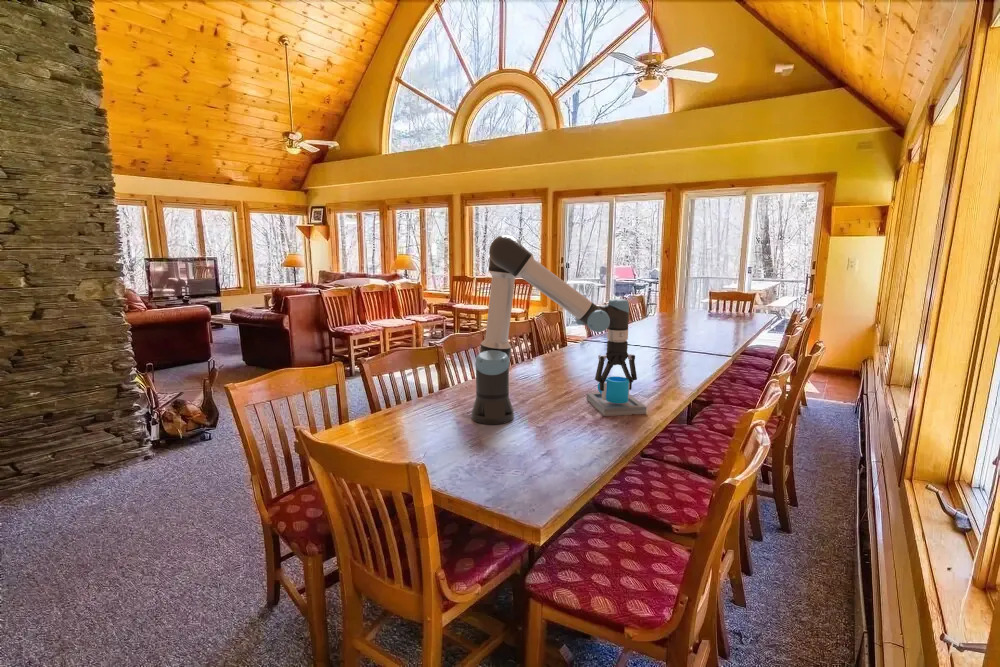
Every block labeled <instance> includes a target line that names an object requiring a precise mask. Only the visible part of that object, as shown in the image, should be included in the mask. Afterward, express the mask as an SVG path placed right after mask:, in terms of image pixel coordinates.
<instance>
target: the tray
mask: <svg viewBox="0 0 1000 667" xmlns="http://www.w3.org/2000/svg"><path fill="white" fill-rule="evenodd" d="M586 400H587V402H589V403H590V405H592V406H593V407H594V408H595V409H596V410H597V411H598V412H599V413H600V414H601V415H602V416H603V417H614V416H632V414H635V415H647V406H646V405H644V404H643V403H642V402H640V401H639V400H638V399H637V398H635V397H633V396H632V395H631V394H630V393H629V399H628V402H626V403H612V402H608V401H607V400H603V399H602V394H601V393H600V392H599V391H598V392H587V393H586Z"/></svg>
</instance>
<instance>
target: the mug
mask: <svg viewBox="0 0 1000 667" xmlns="http://www.w3.org/2000/svg"><path fill="white" fill-rule="evenodd" d="M605 382H606V400H607V401H608V402H612V403H626V402H628V391H629V392H630V390H629V379H627V378H626V376H625V377H624V376H607V378H606V380H605ZM597 390H598V392H600V393H601V394H602V391H600V382H598V384H597Z"/></svg>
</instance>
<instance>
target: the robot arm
mask: <svg viewBox="0 0 1000 667" xmlns="http://www.w3.org/2000/svg"><path fill="white" fill-rule="evenodd" d="M488 252H489V253H488V254H489V260H488V273H489V274H490V275H491V282H490V284H491V285H490V292H489V302H488V309H487V310H488V311H487V320H486V330H485V338H484V339H483V341H481V342H480V346H479V347H480V348H479V353H478V354H477V355H476V357H475V363H474V366H475V375H476V376H475V384H476V386H475V389H476V390H475V393H476V394H475V401H474V403H473V406H472V409H471V420H473V421H474V422H476V423H478V424H483V425H501V424H507V423H509V422H512V421H513V420H514V418H515V414H514V413H515V412H514V409H513V405H512V403H511V399H510V396H509V395H510V381H509V380H510V364H511V352H512V345H511V343H509V334H510V326H511V319H512V318H511V317H512V308H513V301H514V300H513V299H514V292H515V291H514V290H515V281H516V278H521V279H522V280H524V281H526V282H527V283H528V284H529V285H531V286H532V287H533V288H535V289H536V290H538V291H539V292H540V293H542V294H543V295H545V296H546V297H547V298H549V299H550V300H551V301H552V302H554V303H556V304H557V305H558V306H559V307H561V308H562V309H564V310H565V311H567V313H569V314H571V315H572V316H573V317H575V323H576V324H577V325H580V326H587V327H588V328H589V330H591V331H592V332H596V333H601V332H604V331H606V330H607V336H606V338H607V341H606V353H605V354H603V355H602V354H599V355H598V364H597V367H596V372H595V377H594V380H595V381H597V383H599V382H600V391H602V399H603V400H606V387H607V382H606V381H605V380H606V379H607V378H608V377H609V374H610V372H611V370H612V368H613V367H614V366H620V367H621V369H622V371H623V374H624V376H625V378H627V379H629V391H628V399H629V394H630V391H631V390H632V389H633V387H632V386H633V385H632V384H633V383H634V381H637V379H638V376H637V369H636V363H635V361H636V360H635V359H636V355H635V354H632V353H630V354H629V353H628V347H629V346H628V344H629V342H628V340H629V319H630V318H629V317H630V301H629V300H627V299H624V298H610V299H609V300H608V303H607V304H595V303H593V302H592V301H591V300H590V299H588V298H587V297H586V296H584V295H583V294H581V293H580V292H579V291H578V290H576V289H575V288H574V287H572V285H570V284H568V283H567V282H566V281H564V280H563V279H561V278H560V277H559V276H557V275H556V274H555V273H553V271H551V270H549V269H548V268H547V267H546V266H544V265H543V264H541V263H540V262H539V261H538V260H536V259H535V257H534V254H533V253H531V252H530V251H529V250H528V249H527V248H525V246H523V245H522V243H521V242H520V240H518V238H516V237H515V236H512V235H509V234H502V235H499V236H498V237H495V239H493V241H491V243H490V246H489V251H488ZM606 359H607V362H606V366H605V368H604V364H605V361H606ZM627 359H628V364H629V369H628V365H627V363H626V360H627ZM603 369H604V370H603Z"/></svg>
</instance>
